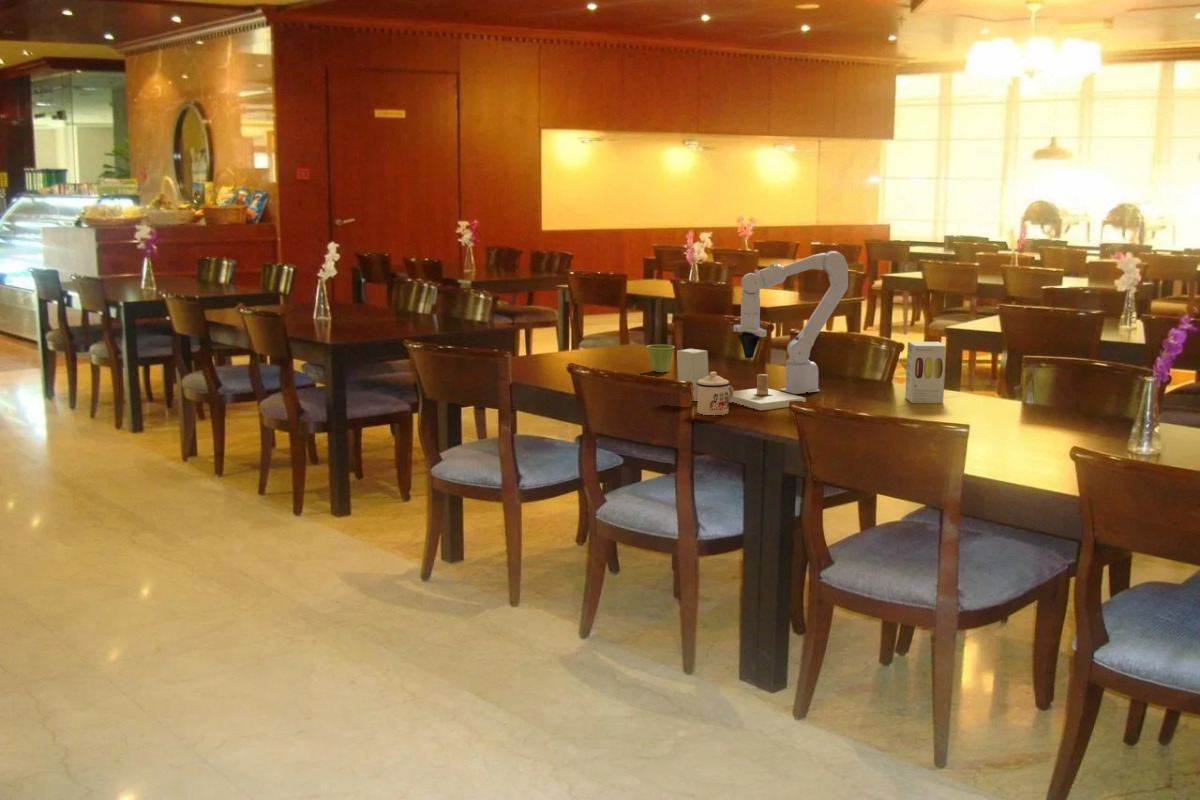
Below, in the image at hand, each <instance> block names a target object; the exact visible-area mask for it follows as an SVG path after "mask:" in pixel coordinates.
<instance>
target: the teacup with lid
mask: <svg viewBox="0 0 1200 800" xmlns="http://www.w3.org/2000/svg"><path fill="white" fill-rule="evenodd" d="M717 373H718V372H717V371H710V372H709V376H706V377H705V378H703V379H700V380H698V381H697V385H698V402H697V404H696V405H697V414H698V413H700V414H703V415H702V416H704V415H714V416H713V417H716V416H715V415H722V416H726V415H728V414H729V403H731V402H730V401H731V399H732V397H733V393H734V391H735V390H734V388H733V387H732V386H731V385H730V381H729V380H728V379H725V378H723V377H722V376H720V375H717ZM729 392H730V394H729ZM700 414H699V415H700ZM725 414H726V415H725Z"/></svg>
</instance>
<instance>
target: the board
mask: <svg viewBox="0 0 1200 800" xmlns="http://www.w3.org/2000/svg"><path fill="white" fill-rule="evenodd" d="M733 391H734V393H733V397H732V399H731V401H730V402H729V403H732V402H734V403H733V404H735V403H737V404H736V405H739V404H740V405H739V406H742V405H744V406H743V407H746V406H747V407H746V408H750V409H753V408H754V410H757V411H767V410H774V409H775V410H776V409H782V408H790V407H789V402H790V401H803V402H806V403H807V398H806V397H804V396H799V395H797V394H793V393H789V392H785V391H781V390H775V389H774V388H773V389H772V388H769V387H768V396H767V397H758V396H757V387H755V388H748V389H740V390H733ZM729 394H730V391H729Z"/></svg>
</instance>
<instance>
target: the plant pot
mask: <svg viewBox="0 0 1200 800" xmlns="http://www.w3.org/2000/svg"><path fill="white" fill-rule="evenodd" d="M675 348H676V347H675V345H670V344H649V345H647V346H646V349H647V351H648V354H649V362H650V369H651V370H653V371H659V372H660V373H664V371H669V370H670V371H671V365H672V364H671V363H672V358H673V353H674V349H675ZM670 371H669V372H670Z"/></svg>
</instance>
